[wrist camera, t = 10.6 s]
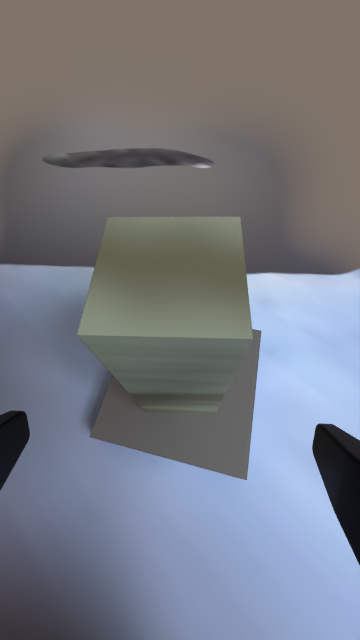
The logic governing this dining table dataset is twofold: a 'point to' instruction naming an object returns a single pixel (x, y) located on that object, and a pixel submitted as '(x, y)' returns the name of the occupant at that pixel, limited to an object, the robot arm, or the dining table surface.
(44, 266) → the dining table surface
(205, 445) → the base board
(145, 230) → the green post
